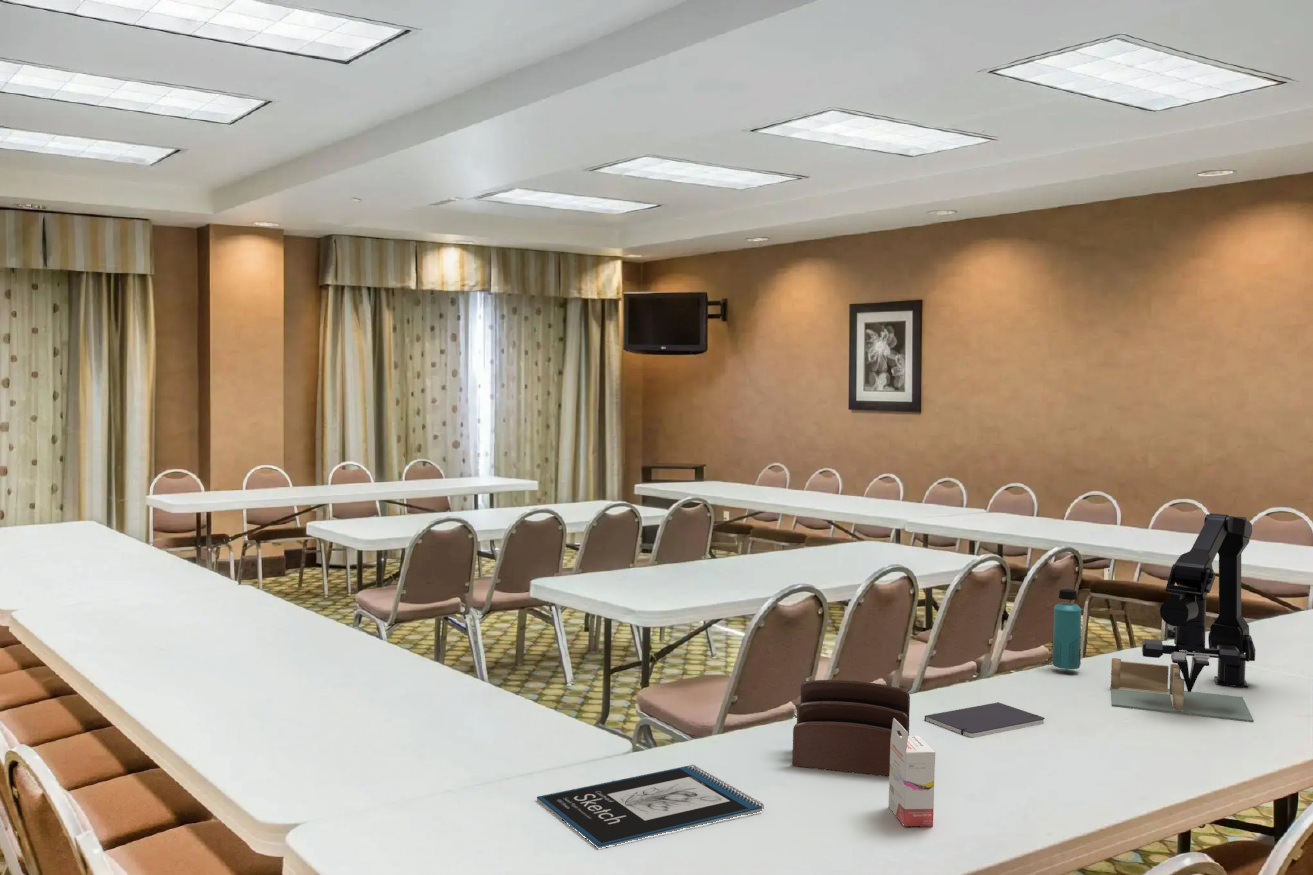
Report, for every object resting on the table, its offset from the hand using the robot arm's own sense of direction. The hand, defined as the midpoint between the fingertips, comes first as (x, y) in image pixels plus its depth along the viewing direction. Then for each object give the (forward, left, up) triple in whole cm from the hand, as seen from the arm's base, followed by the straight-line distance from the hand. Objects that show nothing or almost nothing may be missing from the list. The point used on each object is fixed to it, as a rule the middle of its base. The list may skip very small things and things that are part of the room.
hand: (1189, 691), depth 237 cm
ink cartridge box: (+86, -45, -4) cm, 97 cm away
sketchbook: (+99, -84, -4) cm, 130 cm away
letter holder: (+65, -59, -4) cm, 88 cm away
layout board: (-4, -2, -4) cm, 6 cm away
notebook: (+29, -39, -4) cm, 49 cm away
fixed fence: (-9, -8, -4) cm, 13 cm away
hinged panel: (-1, -2, -3) cm, 4 cm away
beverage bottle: (-21, -25, -4) cm, 33 cm away
